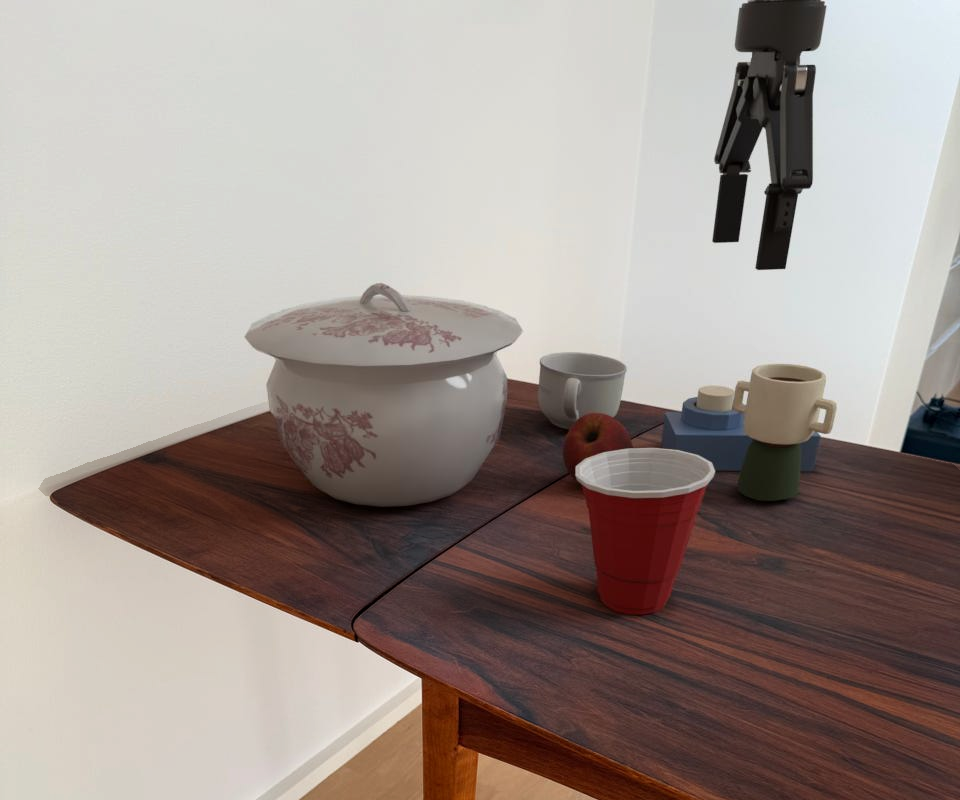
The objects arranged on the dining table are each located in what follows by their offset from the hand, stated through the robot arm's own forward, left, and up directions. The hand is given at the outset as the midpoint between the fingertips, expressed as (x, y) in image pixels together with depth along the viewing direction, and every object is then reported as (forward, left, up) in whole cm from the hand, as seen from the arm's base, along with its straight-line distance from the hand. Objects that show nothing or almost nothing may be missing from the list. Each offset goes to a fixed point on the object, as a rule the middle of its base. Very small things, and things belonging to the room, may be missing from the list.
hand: (746, 255), depth 90 cm
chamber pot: (+37, +8, -22) cm, 43 cm away
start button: (+1, -2, -17) cm, 17 cm away
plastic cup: (+14, +33, -22) cm, 42 cm away
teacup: (+16, -11, -22) cm, 30 cm away
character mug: (-3, +10, -22) cm, 25 cm away
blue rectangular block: (-2, -1, -22) cm, 22 cm away
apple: (+15, +8, -22) cm, 28 cm away
